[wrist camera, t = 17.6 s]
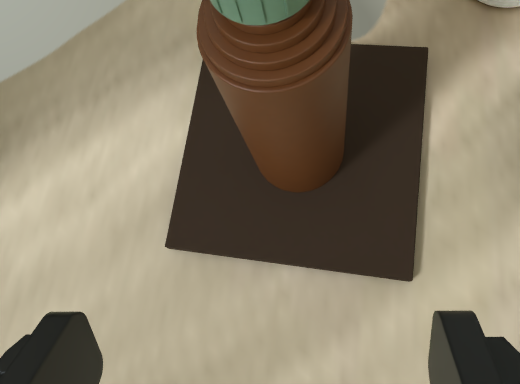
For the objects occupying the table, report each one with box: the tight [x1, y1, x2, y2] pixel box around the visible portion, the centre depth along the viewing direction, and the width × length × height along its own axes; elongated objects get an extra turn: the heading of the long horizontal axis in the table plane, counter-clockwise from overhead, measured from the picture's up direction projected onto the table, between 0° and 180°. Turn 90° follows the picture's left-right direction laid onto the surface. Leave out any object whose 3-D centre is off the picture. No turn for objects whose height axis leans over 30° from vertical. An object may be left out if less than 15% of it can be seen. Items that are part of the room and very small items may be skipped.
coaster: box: [165, 44, 428, 281], centre depth 31 cm, size 16×16×1 cm
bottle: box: [197, 0, 352, 192], centre depth 21 cm, size 6×6×20 cm
